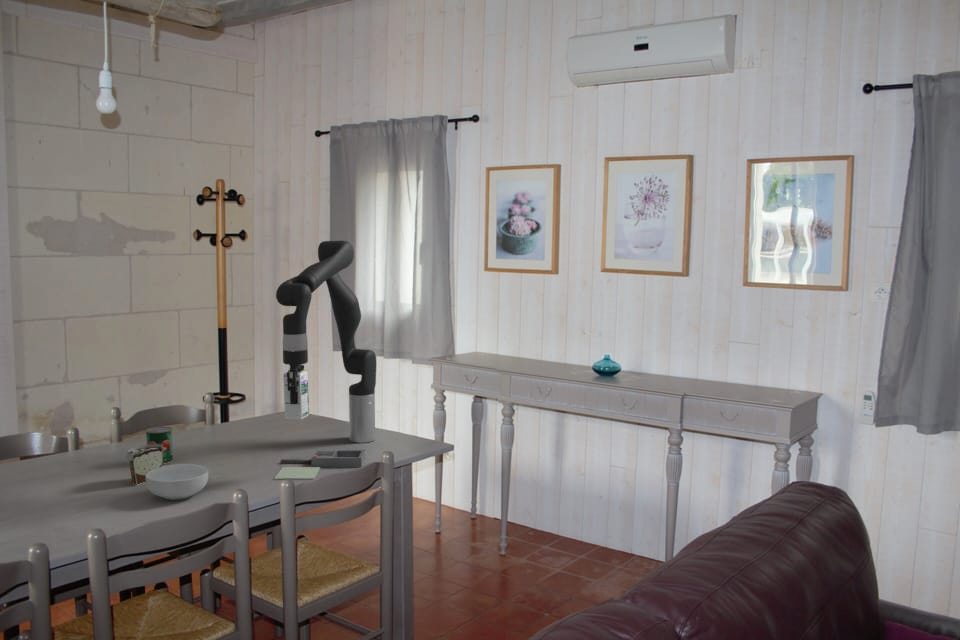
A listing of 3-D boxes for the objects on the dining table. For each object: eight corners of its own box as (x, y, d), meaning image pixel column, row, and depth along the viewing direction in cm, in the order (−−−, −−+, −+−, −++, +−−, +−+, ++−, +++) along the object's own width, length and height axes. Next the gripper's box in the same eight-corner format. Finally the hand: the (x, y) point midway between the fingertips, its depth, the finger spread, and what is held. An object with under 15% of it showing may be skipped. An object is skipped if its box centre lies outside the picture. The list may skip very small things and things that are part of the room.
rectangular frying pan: (283, 458, 274) (283, 448, 273) (365, 458, 274) (365, 448, 274) (276, 467, 264) (276, 457, 264) (361, 467, 264) (361, 456, 264)
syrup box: (301, 419, 252) (300, 373, 250) (284, 419, 253) (282, 372, 252) (309, 415, 257) (308, 370, 256) (291, 415, 259) (290, 369, 257)
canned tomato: (166, 457, 276) (165, 425, 275) (177, 462, 270) (175, 429, 269) (143, 461, 270) (141, 429, 269) (153, 466, 265) (151, 433, 263)
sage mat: (282, 468, 263) (282, 467, 263) (320, 468, 263) (320, 466, 263) (274, 479, 251) (274, 478, 251) (313, 479, 251) (313, 478, 251)
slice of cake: (151, 473, 257) (150, 442, 256) (165, 476, 254) (164, 444, 253) (118, 484, 246) (116, 451, 245) (132, 487, 243) (131, 454, 242)
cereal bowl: (135, 504, 228) (134, 479, 227) (161, 486, 244) (160, 463, 244) (195, 505, 227) (194, 481, 226) (217, 487, 244) (217, 464, 243)
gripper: (287, 344, 260) (289, 396, 262) (277, 351, 246) (279, 406, 247) (311, 344, 260) (312, 396, 262) (302, 351, 246) (304, 406, 248)
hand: (296, 401), depth 255 cm, fingers closed on syrup box, 6 cm apart
